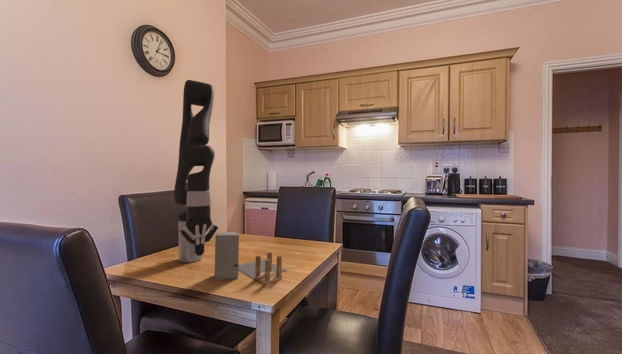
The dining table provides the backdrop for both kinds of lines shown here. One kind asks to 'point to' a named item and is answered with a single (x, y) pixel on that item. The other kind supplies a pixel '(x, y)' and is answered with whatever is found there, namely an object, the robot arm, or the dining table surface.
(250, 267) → the mat
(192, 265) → the dining table surface
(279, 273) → the stool
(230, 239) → the skincare box
